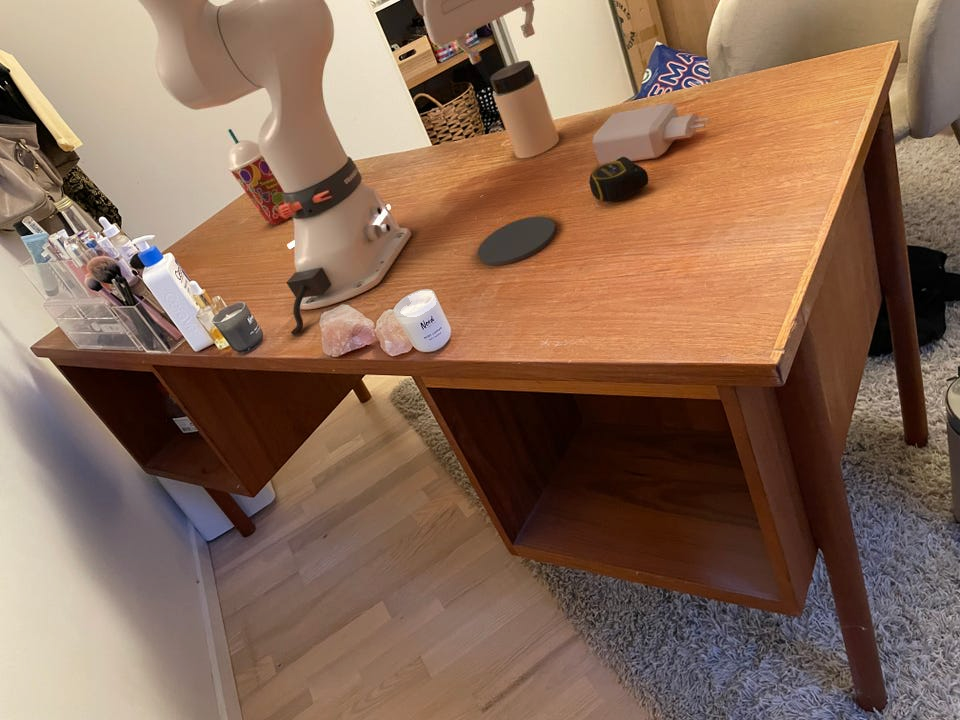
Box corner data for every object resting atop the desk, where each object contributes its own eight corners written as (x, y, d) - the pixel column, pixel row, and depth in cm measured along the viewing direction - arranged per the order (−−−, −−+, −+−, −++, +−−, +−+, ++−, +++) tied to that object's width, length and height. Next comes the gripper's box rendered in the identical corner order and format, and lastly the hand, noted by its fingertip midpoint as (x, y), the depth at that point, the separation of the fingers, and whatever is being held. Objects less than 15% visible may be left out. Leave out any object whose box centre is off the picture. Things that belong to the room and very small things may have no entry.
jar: (559, 147, 114) (533, 70, 107) (514, 163, 116) (486, 89, 109) (559, 131, 120) (534, 57, 113) (516, 146, 123) (490, 75, 116)
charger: (699, 155, 91) (599, 168, 101) (720, 124, 97) (623, 139, 106) (692, 122, 89) (590, 138, 98) (714, 91, 94) (615, 110, 103)
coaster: (556, 249, 86) (554, 245, 86) (475, 274, 89) (474, 270, 89) (556, 211, 95) (554, 207, 95) (483, 235, 98) (481, 232, 98)
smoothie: (291, 222, 140) (236, 130, 129) (259, 232, 143) (202, 144, 132) (306, 203, 146) (255, 115, 136) (275, 214, 149) (222, 128, 139)
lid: (534, 82, 109) (529, 67, 107) (493, 98, 111) (488, 84, 109) (535, 70, 114) (530, 56, 113) (496, 85, 116) (491, 72, 115)
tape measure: (653, 191, 88) (646, 164, 86) (604, 213, 89) (596, 187, 87) (634, 176, 94) (627, 151, 92) (588, 196, 95) (580, 172, 92)
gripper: (410, -12, 99) (448, 81, 107) (537, -75, 99) (566, 22, 107) (404, -14, 105) (441, 75, 112) (524, -74, 104) (553, 19, 112)
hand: (503, 49), depth 109 cm, fingers open, 8 cm apart
